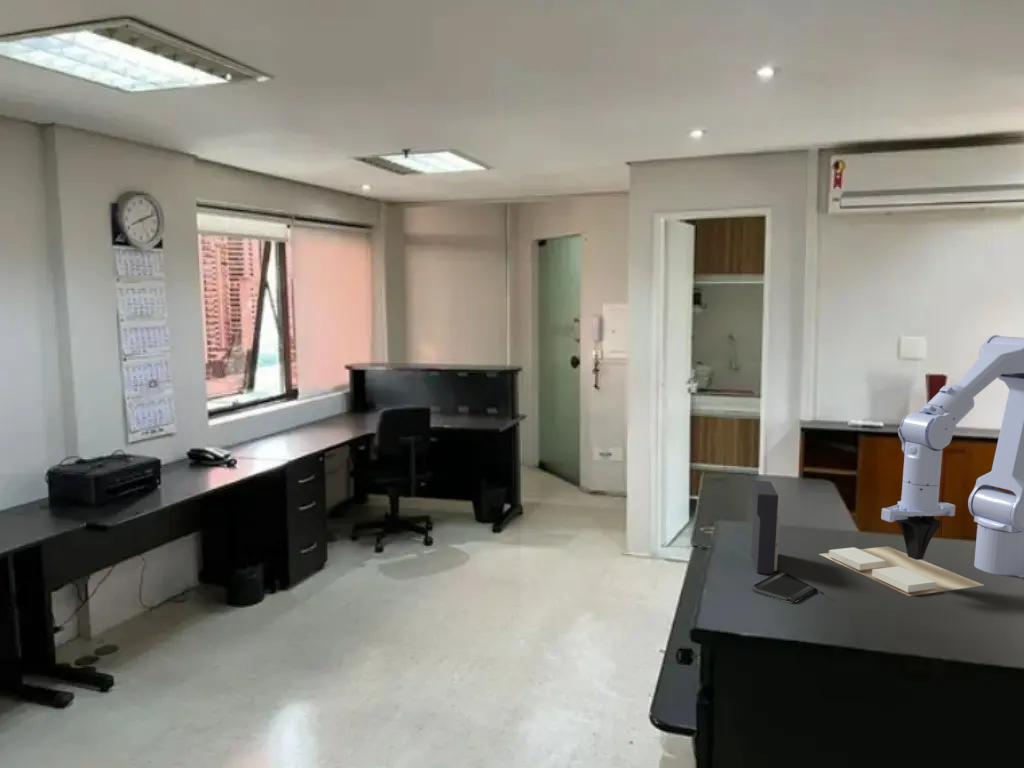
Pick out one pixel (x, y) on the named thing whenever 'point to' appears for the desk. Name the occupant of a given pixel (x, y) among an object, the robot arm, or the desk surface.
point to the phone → (783, 587)
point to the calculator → (765, 526)
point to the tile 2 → (903, 579)
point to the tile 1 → (857, 559)
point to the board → (916, 570)
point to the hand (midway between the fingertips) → (915, 557)
